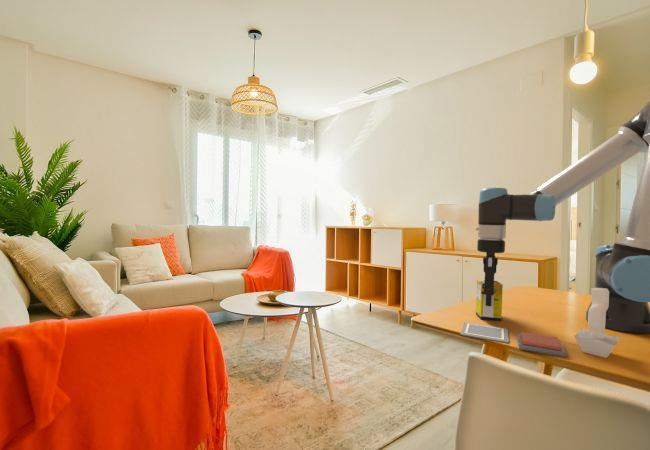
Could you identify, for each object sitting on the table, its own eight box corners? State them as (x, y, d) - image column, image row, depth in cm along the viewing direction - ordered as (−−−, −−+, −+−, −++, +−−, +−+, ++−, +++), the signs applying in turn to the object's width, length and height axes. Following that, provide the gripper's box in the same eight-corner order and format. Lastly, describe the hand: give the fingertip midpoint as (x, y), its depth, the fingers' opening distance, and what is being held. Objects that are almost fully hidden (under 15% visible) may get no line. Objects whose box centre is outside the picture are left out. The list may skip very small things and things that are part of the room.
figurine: (572, 352, 77) (575, 287, 77) (582, 342, 84) (585, 282, 83) (613, 363, 72) (616, 294, 71) (620, 352, 78) (623, 288, 78)
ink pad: (559, 345, 82) (560, 337, 82) (565, 357, 75) (566, 348, 74) (517, 338, 86) (517, 330, 86) (518, 349, 79) (519, 340, 79)
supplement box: (501, 321, 100) (503, 284, 99) (480, 319, 101) (481, 283, 100) (495, 315, 106) (497, 280, 105) (475, 313, 107) (476, 279, 106)
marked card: (507, 329, 92) (507, 328, 92) (508, 343, 82) (508, 341, 82) (464, 323, 97) (464, 321, 97) (460, 335, 87) (460, 333, 87)
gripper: (479, 236, 114) (476, 302, 115) (475, 240, 94) (472, 319, 95) (504, 237, 110) (501, 305, 111) (506, 242, 91) (502, 324, 92)
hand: (488, 312), depth 103 cm, fingers open, 9 cm apart
